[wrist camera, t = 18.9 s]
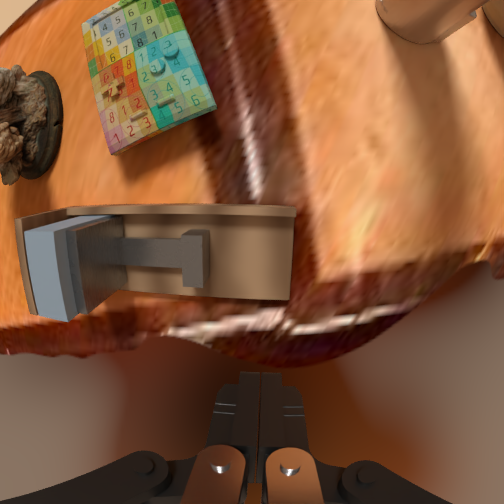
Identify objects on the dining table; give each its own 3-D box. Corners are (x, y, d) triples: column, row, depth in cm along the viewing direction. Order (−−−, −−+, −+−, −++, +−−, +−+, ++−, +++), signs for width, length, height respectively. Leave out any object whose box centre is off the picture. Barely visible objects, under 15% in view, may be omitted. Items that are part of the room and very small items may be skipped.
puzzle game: (106, 154, 25) (77, 21, 21) (126, 156, 29) (95, 34, 25) (213, 103, 24) (162, -25, 19) (221, 114, 28) (173, -7, 24)
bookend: (209, 216, 29) (185, 232, 20) (209, 287, 31) (189, 327, 22) (113, 216, 29) (65, 230, 21) (118, 281, 31) (77, 312, 22)
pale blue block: (114, 213, 30) (53, 231, 19) (119, 281, 32) (68, 322, 21) (87, 214, 30) (24, 231, 19) (93, 279, 32) (38, 315, 21)
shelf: (293, 206, 30) (308, 219, 20) (288, 295, 32) (297, 346, 22) (72, 206, 31) (14, 218, 20) (79, 281, 33) (30, 313, 23)
